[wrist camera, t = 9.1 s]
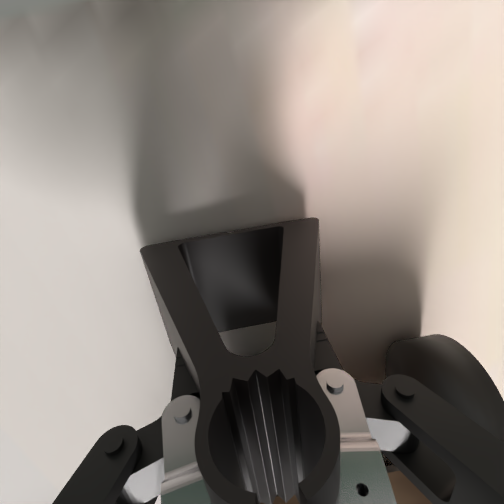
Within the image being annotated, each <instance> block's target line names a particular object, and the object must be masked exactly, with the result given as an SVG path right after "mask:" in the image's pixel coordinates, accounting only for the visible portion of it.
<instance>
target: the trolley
mask: <svg viewBox="0 0 504 504" xmlns="http://www.w3.org/2000/svg"><path fill="white" fill-rule="evenodd" d="M396 374H400V375H406V376H409V377H412V378H414V379H415V380H417V381H419V382H420V383H421V384H423V385H424V386H426V387H427V388H428V389H430V390H431V391H432V392H434V393H435V394H437V395H438V396H439V397H441V398H442V399H444V400H445V401H446V402H448V403H449V404H451V405H452V406H453V407H455V408H456V409H458V410H459V411H460V412H462V413H463V414H465V415H466V416H467V417H469V418H470V419H471V420H473V421H474V422H476V423H477V424H478V425H480V426H481V427H483V428H484V429H485V430H487V431H488V432H490V433H491V434H492V435H494V436H495V437H497V438H498V439H499V440H501V441H502V442H504V401H503V399H502V397H501V395H500V393H499V391H498V389H497V387H496V386H495V384H494V382H493V381H492V379H491V377H490V376H489V375H488V373H487V372H486V370H485V369H484V368H483V366H482V365H481V364H480V363H479V361H478V360H477V359H476V358H475V357H474V356H473V355H472V354H471V353H470V352H469V351H468V350H467V349H466V348H465V347H464V346H462V345H461V344H460V343H458V342H457V341H455V340H453V339H452V338H449V337H447V336H444V335H440V334H434V335H429V336H424V337H418V338H413V339H407V340H402V341H397V342H394V343H393V344H392V345H391V346H390V347H389V349H388V352H387V356H386V378H387V377H389V376H391V375H396ZM385 467H386V470H387V473H388V477H389V480H390V483H391V486H392V490H393V493H394V496H395V499H396V503H397V504H432V503H431V502H430V501H429V500H428V499H427V498H426V497H425V496H424V495H423V493H422V492H421V491H420V490H419V489H418V488H417V487H416V486H415V485H414V484H413V483H412V482H411V481H410V480H409V479H408V478H407V477H406V476H405V475H404V474H403V473H402V472H401V471H400V470H399V469H398V468H397V467H396V466H395V465H390V466H385ZM260 504H265V503H262V502H261V503H260ZM273 504H299V502H298V500H297V498H296V496H295V495H294V496H293V497H292V498H291V499H290V500H289V501H288V502H287V503H286V502H285V501H284V500H283V499H282V498H281V497H280V496H279V495H278V494H277V495H276V497H275V500H274V502H273Z"/></svg>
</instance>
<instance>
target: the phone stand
mask: <svg viewBox="0 0 504 504" xmlns="http://www.w3.org/2000/svg"><path fill="white" fill-rule="evenodd" d="M140 253H141V256H142V259H143V262H144V265H145V268H146V271H147V274H148V277H149V280H150V283H151V286H152V289H153V292H154V295H155V298H156V301H157V304H158V307H159V310H160V313H161V316H162V319H163V322H164V325H165V328H166V331H167V334H168V337H169V341H170V343H171V346H172V348H173V351H174V353H175V355H177V347H178V348H179V351H180V353H181V355H182V358H183V360H184V362H185V364H186V367H187V369H188V371H189V373H190V376H192V378H193V380H194V382H195V385H196V387H197V389H198V391H199V394H200V410H199V416H198V421H197V426H196V431H195V441H194V445H195V455H196V460H197V464H198V467H199V470H200V472H201V475H202V478H203V481H204V483H205V486H206V489H207V492H208V494H209V497H210V500H211V503H212V504H260V503H261V502H262V503H265V504H273V502H274V500H275V497H276V495H277V494H278V495H279V496H280V497H281V498H282V499H283V500H284V501H285V502H286V503H287V502H288V501H289V500H290V499H291V498H292V497H293V496H294V495H295V496H296V498H297V500H298V502H299V504H335V503H336V500H337V497H338V493H339V487H340V427H339V422H338V418H337V415H336V412H335V410H334V408H333V406H332V404H331V402H330V400H329V399H328V397H327V396H326V394H325V393H324V391H323V389H322V387H321V386H320V384H319V382H318V379H317V377H316V375H315V372H314V360H315V349H316V336H317V321H318V322H319V323H320V324H321V325H322V304H321V274H320V243H319V219H317V218H306V219H300V220H294V221H288V222H282V223H276V224H271V225H265V226H259V227H253V228H247V229H242V230H236V231H234V232H232V233H227V232H224V233H218V234H212V235H207V236H201V237H195V238H189V239H183V240H177V241H172V242H166V243H160V244H154V245H148V246H145V247H143V248H141V249H140ZM274 321H277V323H276V335H275V340H274V342H273V344H272V345H271V347H270V348H269V349H267V350H266V351H264V352H263V353H261V354H258V355H255V356H248V357H244V356H238V355H235V354H232V353H231V352H229V351H228V350H227V349H226V347H225V345H224V343H223V341H222V339H221V337H220V335H219V333H218V332H222V331H227V330H232V329H238V328H243V327H248V326H253V325H259V324H264V323H269V322H274Z"/></svg>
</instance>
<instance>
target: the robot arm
mask: <svg viewBox="0 0 504 504" xmlns="http://www.w3.org/2000/svg"><path fill="white" fill-rule="evenodd" d="M314 372H315V375H316V377H317V379H318V382H319V384H320V386H321V387H322V389H323V391H324V393H325V394H326V396H327V397H328V399H329V400H330V402H331V404H332V406H333V408H334V410H335V412H336V415H337V418H338V422H339V427H340V487H339V493H338V497H337V500H336V503H335V504H397V503H396V499H395V496H394V493H393V490H392V486H391V483H390V480H389V477H388V473H387V470H386V467H385V463H384V460H383V457H382V454H381V452H382V453H383V454H384V455H385V456H386V457H387V458H388V459H389V460H390V461H391V462H392V463H393V464H394V465H395V466H396V467H397V468H398V469H399V470H400V471H401V472H402V473H403V474H404V475H405V476H406V477H407V478H408V479H409V480H410V481H411V482H412V483H413V484H414V485H415V486H416V487H417V488H418V489H419V490H420V491H421V492H422V493H423V495H424V496H425V497H426V498H427V499H428V500H429V501H430V502H431V503H432V504H504V442H502V441H501V440H499V439H498V438H497V437H495V436H494V435H492V434H491V433H490V432H488V431H487V430H485V429H484V428H483V427H481V426H480V425H478V424H477V423H476V422H474V421H473V420H471V419H470V418H469V417H467V416H466V415H465V414H463V413H462V412H460V411H459V410H458V409H456V408H455V407H453V406H452V405H451V404H449V403H448V402H446V401H445V400H444V399H442V398H441V397H439V396H438V395H437V394H435V393H434V392H432V391H431V390H430V389H428V388H427V387H426V386H424V385H423V384H421V383H420V382H419V381H417V380H415V379H414V378H412V377H409V376H406V375H400V374H396V375H391V376H389V377H387V378H386V379H384V381H383V383H382V384H374V383H365V382H361V381H358V380H355V379H353V378H352V377H351V375H349V374H348V373H347V372H345V371H344V370H343V369H342V367H341V365H340V363H339V361H338V359H337V357H336V355H335V353H334V351H333V349H332V347H331V345H330V343H329V341H328V339H327V337H326V335H325V333H324V330H323V328H322V326H321V324H320V323H319V322H318V321H317V336H316V349H315V360H314ZM199 410H200V394H199V391H198V389H197V387H196V385H195V382H194V380H193V378H192V376H190V373H189V371H188V369H187V367H186V364H185V362H184V360H183V358H182V355H181V353H180V351H179V348H178V347H177V355H176V363H175V372H174V380H173V389H172V397H171V402H170V403H169V404H168V405H167V406H166V408H165V409H164V411H163V414H162V416H161V417H160V418H159V419H158V420H156V421H155V422H153V423H151V424H149V425H147V426H145V427H143V428H141V429H139V430H137V431H136V430H135V429H134V428H133V427H131V426H128V425H120V426H117V427H114V428H112V429H110V430H108V431H107V432H106V433H104V434H103V435H102V436H101V437H100V438H99V439H98V441H97V442H96V443H95V445H94V446H93V447H92V449H91V450H90V452H89V453H88V454H87V456H86V457H85V459H84V460H83V461H82V463H81V464H80V466H79V467H78V468H77V470H76V471H75V473H74V474H73V475H72V477H71V478H70V480H69V481H68V482H67V484H66V485H65V487H64V488H63V489H62V491H61V492H60V494H59V495H58V496H57V498H56V499H55V501H54V502H53V503H52V504H155V502H156V499H157V497H158V495H160V494H161V504H212V503H211V500H210V497H209V494H208V492H207V489H206V486H205V483H204V481H203V478H202V475H201V472H200V470H199V467H198V464H197V460H196V455H195V445H194V441H195V431H196V426H197V421H198V416H199Z"/></svg>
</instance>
